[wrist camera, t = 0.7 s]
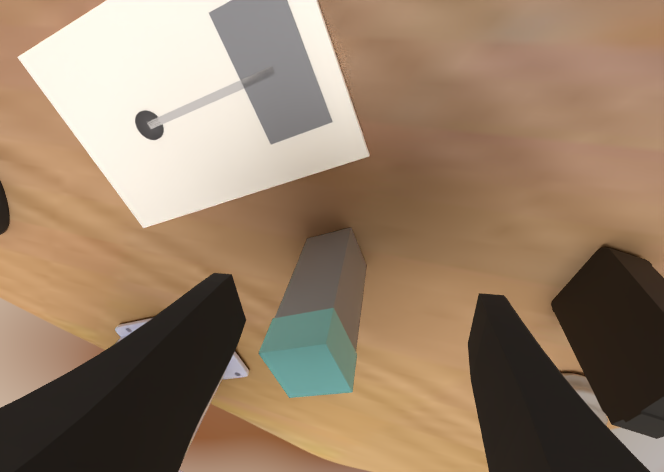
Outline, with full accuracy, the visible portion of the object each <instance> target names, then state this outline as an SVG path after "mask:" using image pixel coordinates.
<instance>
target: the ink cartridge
mask: <svg viewBox="0 0 664 472" xmlns="http://www.w3.org/2000/svg"><path fill="white" fill-rule="evenodd" d="M551 305H552V308H553V309H552V310H553V312H555V315H556V317H557V319H558V321H559V323H560V325H561V327H562V329H563V331H564V333H565V335H566V337H567V339H568V341H569V343H570V345H571V347H572V349H573V351H574V353H575V356H576V358H577V360H578V362H579V364H580V366H581V368H582V370H583V372H584V374H585V376H586V378H587V380H588V382H589V384H590V386H591V388H592V390H593V392H594V395H595V397H596V399H597V401H598V403H599V405H600V407H601V409H602V411H603V412H604V413H605V414H606V415H607V416H608V418H609V420H610V422H611V424H612V425H615V426H618V427H621V428H625V429H628V430H631V431H634V432H637V433H641V434H644V435H647V436H650V437H653V438H656V439H657V438H660V437H663V436H664V278H663V277H662V276H661V275H660V274H659V273H658V272H657V271H656V270H655V269H654V268H653V267H652V264H651V263H650V262H649V261H647V260H645V259H642V258H639V257H636V256H633V255H630V254H627V253H623V252H620V251H617V250H614V249H611V248H608V247H604V248H601V249H599V250H598V251H597V252H596V253H595V254H594V255H593V256H592V257H591V258H590V259H589V260H588V262H587V263H586V264H585V265H584V266H583V267H582V268H581V269H580V270H579V272H578V273H577V274H576V275H575V276H574V277H573V278H572V279H571V280H570V282H569V283H568V284H567V285H566V286H565V287H564V288H563V290H562V291H561V292H560V293H559V294H558V295H557V296H556V298H555V299H554V300H553V301H552V304H551Z"/></svg>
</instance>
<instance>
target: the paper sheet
mask: <svg viewBox="0 0 664 472" xmlns="http://www.w3.org/2000/svg"><path fill="white" fill-rule="evenodd" d="M18 59H19V60H20V61H21V63H22V64H23V65H24V67H25V68H26V69H27V71H28V72H29V73H30V75H31V76H32V78H33V79H34V80H35V82H36V83H37V84H38V86H39V87H40V88H41V90H42V91H43V92H44V94H45V95H46V97H47V98H48V99H49V101H50V102H51V103H52V105H53V106H54V107H55V109H56V110H57V111H58V113H59V114H60V116H61V117H62V118H63V120H64V121H65V122H66V124H67V125H68V126H69V128H70V129H71V130H72V132H73V133H74V135H75V136H76V137H77V139H78V140H79V141H80V143H81V144H82V145H83V147H84V148H85V149H86V151H87V152H88V154H89V155H90V156H91V158H92V159H93V160H94V162H95V163H96V164H97V166H98V167H99V168H100V170H101V171H102V173H103V174H104V175H105V177H106V178H107V179H108V181H109V182H110V183H111V185H112V186H113V187H114V189H115V190H116V192H117V193H118V194H119V196H120V197H121V198H122V200H123V201H124V202H125V204H126V205H127V206H128V208H129V209H130V211H131V212H132V213H133V215H134V216H135V217H136V219H137V220H138V221H139V223H140V224H141V225H142V227H143V228H146V227H149V226H152V225H155V224H158V223H161V222H164V221H168V220H171V219H174V218H177V217H180V216H183V215H186V214H190V213H193V212H196V211H199V210H202V209H205V208H208V207H212V206H215V205H218V204H221V203H224V202H227V201H230V200H234V199H237V198H240V197H243V196H246V195H249V194H252V193H256V192H259V191H262V190H265V189H268V188H271V187H275V186H278V185H281V184H284V183H287V182H290V181H293V180H297V179H300V178H303V177H306V176H309V175H312V174H315V173H319V172H322V171H325V170H328V169H331V168H334V167H337V166H341V165H344V164H347V163H350V162H353V161H356V160H359V159H363V158H366V157H369V156H370V154H369V151H368V148H367V145H366V142H365V139H364V136H363V133H362V130H361V127H360V124H359V121H358V118H357V115H356V112H355V109H354V106H353V103H352V100H351V97H350V94H349V91H348V89H347V86H346V83H345V80H344V77H343V74H342V71H341V68H340V65H339V62H338V59H337V56H336V53H335V50H334V47H333V44H332V41H331V38H330V35H329V32H328V29H327V26H326V24H325V21H324V18H323V15H322V12H321V9H320V6H319V3H318V0H107V1H105V2H103V3H102V4H100V5H99V6H97V7H96V8H94V9H92V10H91V11H89V12H88V13H86V14H84V15H83V16H81V17H80V18H78V19H77V20H75V21H73V22H72V23H70V24H69V25H67V26H66V27H64V28H62V29H61V30H59V31H58V32H56V33H55V34H53V35H51V36H50V37H48V38H47V39H45V40H44V41H42V42H40V43H39V44H37V45H36V46H34V47H33V48H31V49H29V50H28V51H26V52H25V53H23V54H22V55H20V56H18Z"/></svg>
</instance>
